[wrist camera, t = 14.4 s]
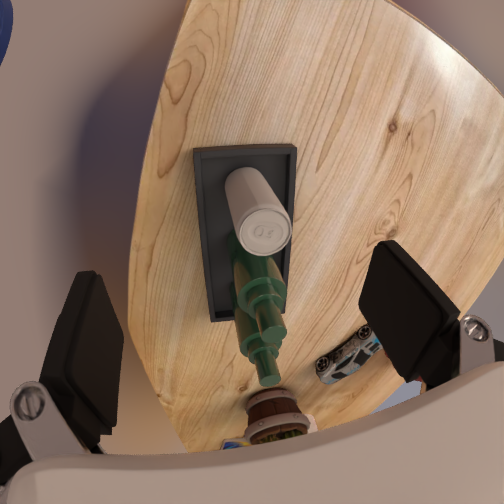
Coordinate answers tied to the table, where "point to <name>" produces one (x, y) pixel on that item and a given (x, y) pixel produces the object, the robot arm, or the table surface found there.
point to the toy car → (348, 357)
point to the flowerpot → (274, 417)
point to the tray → (219, 216)
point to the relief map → (234, 443)
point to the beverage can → (256, 212)
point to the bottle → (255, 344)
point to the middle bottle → (258, 289)
